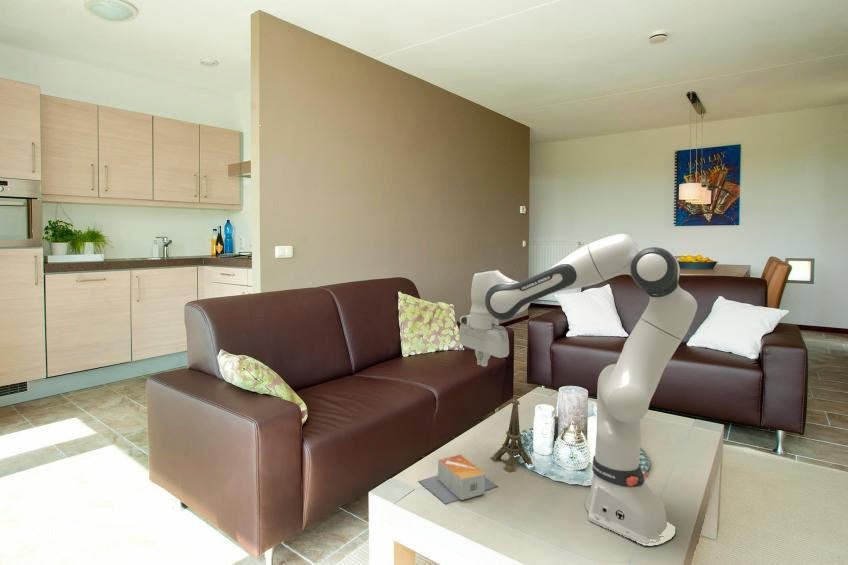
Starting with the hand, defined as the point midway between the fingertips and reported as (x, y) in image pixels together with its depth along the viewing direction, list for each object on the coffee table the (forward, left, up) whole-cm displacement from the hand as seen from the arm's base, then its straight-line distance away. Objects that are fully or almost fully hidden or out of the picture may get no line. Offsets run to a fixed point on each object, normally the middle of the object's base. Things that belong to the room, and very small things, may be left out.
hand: (482, 365), depth 152 cm
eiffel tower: (-3, -12, -33) cm, 36 cm away
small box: (-14, +13, -30) cm, 35 cm away
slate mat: (-6, +12, -33) cm, 36 cm away
